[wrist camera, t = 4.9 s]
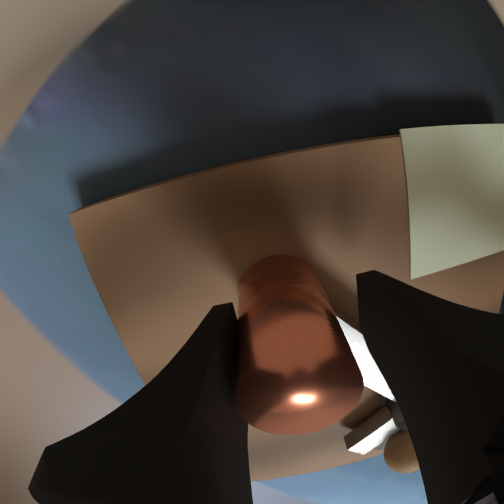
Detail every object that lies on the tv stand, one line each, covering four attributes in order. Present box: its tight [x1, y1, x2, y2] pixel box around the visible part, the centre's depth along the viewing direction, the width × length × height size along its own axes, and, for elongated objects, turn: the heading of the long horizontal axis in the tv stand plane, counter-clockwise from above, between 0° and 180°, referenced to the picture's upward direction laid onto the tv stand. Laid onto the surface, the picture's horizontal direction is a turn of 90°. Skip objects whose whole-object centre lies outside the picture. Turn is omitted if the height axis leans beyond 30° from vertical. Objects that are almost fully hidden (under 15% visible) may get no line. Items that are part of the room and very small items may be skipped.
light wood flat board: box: [68, 124, 504, 481], centre depth 12 cm, size 20×19×5 cm
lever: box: [236, 255, 408, 455], centre depth 11 cm, size 14×7×5 cm, turn 52°
